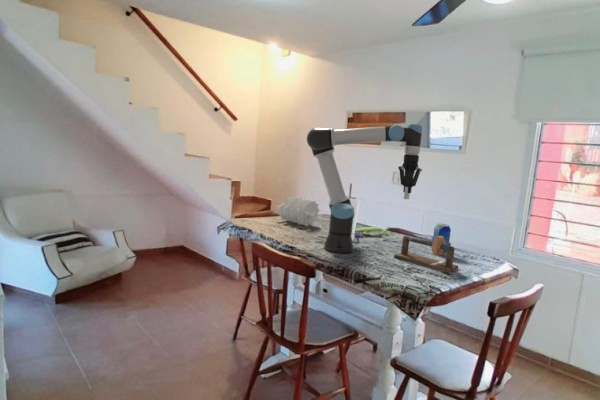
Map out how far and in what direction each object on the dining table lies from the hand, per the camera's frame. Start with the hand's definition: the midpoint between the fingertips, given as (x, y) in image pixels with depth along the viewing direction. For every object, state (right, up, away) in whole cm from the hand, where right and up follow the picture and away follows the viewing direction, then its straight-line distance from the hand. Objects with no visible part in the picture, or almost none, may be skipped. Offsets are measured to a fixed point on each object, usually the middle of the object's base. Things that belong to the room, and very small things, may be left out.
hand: (406, 198), depth 227 cm
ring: (+10, -27, -21) cm, 36 cm away
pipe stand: (+5, -31, -16) cm, 36 cm away
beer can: (+19, -30, +6) cm, 36 cm away
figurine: (-12, -23, +38) cm, 46 cm away
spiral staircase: (-58, -16, +56) cm, 82 cm away
